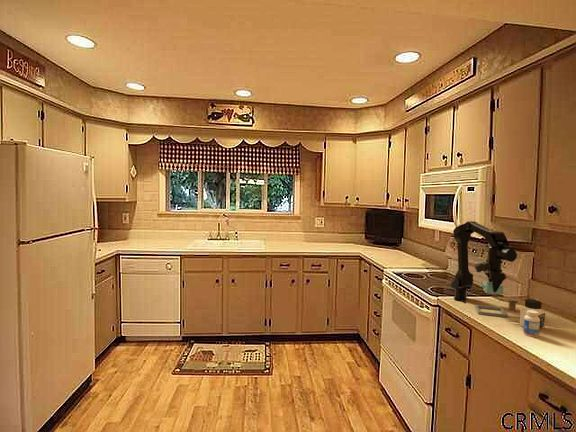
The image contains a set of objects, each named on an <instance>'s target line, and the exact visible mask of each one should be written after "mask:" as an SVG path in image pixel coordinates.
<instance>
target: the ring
mask: <svg viewBox="0 0 576 432" xmlns="http://www.w3.org/2000/svg"><path fill="white" fill-rule="evenodd" d="M480 288H482V289H483V291H484V292H485V294H491V295H500V296H501V295H502V296H503V295H504V285H502V284H501V285H500V286H499V288H498V290H497V291H496V292H493V285H492V282H489V281H483V284H480Z"/></svg>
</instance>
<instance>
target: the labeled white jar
mask: <svg viewBox="0 0 576 432" xmlns="http://www.w3.org/2000/svg"><path fill="white" fill-rule="evenodd" d="M542 305H543V302H542V301H541V300H539V299H536V298H526V299H525V301H524V308H523V309H520V310H521V311H520V313H519V326H520V327H523V328H524V317H525V316H526V315H527V310H533V311H537V312H538V316H537V317H539V318H540V327H539V331H540V330H541V329H543V328H545V323H546V322H545V319H546V311H544V310H542Z"/></svg>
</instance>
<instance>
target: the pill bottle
mask: <svg viewBox="0 0 576 432" xmlns="http://www.w3.org/2000/svg"><path fill="white" fill-rule="evenodd" d="M537 316H538V312H537V311H533V310H527V315H526V316H525V317H524V327H523V331H522V332H523V333H522V334H524V335H525V336H528V337H532V338H537V337H539V335H540V330H539V327H540V318H539V317H537Z"/></svg>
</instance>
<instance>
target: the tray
mask: <svg viewBox="0 0 576 432" xmlns="http://www.w3.org/2000/svg"><path fill="white" fill-rule="evenodd" d="M474 308H475V310H476V313H477V315H481V316H490V317H496V318H497V317H499V318H506V319H507V318H508V313H507V311H504V310H503V308H502V307H501V306H498V307H497V306H490V305H480V304H474ZM480 309H482V310H483V309H484V310H485V309H486V310H490V311H481V310H480ZM491 310H492V311H500V313H498V312H491Z"/></svg>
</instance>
